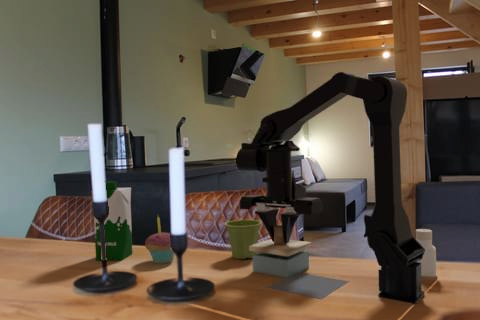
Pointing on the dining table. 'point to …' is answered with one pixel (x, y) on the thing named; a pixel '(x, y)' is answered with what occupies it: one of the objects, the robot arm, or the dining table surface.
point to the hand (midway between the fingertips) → (280, 242)
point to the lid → (280, 245)
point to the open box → (280, 263)
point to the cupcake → (159, 246)
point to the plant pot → (243, 237)
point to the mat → (308, 285)
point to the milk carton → (116, 224)
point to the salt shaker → (427, 253)
